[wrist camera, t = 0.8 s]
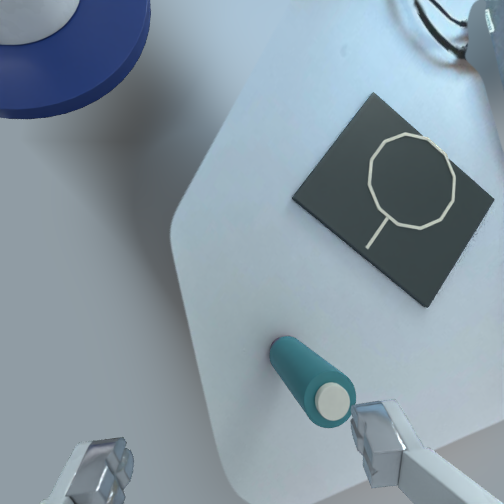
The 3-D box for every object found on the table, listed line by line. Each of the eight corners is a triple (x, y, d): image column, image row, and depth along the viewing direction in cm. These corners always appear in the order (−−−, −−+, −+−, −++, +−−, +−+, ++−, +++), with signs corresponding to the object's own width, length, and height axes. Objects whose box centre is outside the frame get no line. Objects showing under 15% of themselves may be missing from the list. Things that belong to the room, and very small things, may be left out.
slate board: (291, 198, 34) (293, 196, 33) (371, 93, 37) (375, 90, 36) (424, 307, 36) (428, 307, 35) (491, 199, 38) (496, 198, 38)
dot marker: (259, 355, 32) (295, 411, 19) (280, 326, 32) (328, 362, 20) (286, 375, 32) (340, 444, 19) (306, 346, 33) (371, 394, 20)
